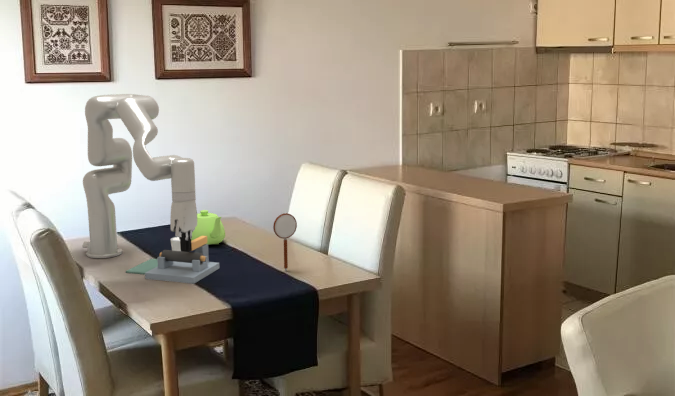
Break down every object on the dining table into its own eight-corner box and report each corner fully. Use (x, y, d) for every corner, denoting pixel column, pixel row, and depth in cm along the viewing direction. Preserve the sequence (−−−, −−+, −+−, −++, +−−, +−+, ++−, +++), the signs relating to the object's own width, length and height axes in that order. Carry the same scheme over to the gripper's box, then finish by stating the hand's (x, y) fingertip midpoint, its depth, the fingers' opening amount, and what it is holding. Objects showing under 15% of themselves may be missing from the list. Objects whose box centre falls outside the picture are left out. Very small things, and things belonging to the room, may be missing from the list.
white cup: (186, 260, 266) (185, 241, 264) (168, 259, 267) (167, 240, 266) (193, 255, 272) (192, 236, 271) (176, 254, 274) (175, 235, 272)
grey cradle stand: (145, 278, 244) (143, 254, 242) (173, 264, 261) (172, 241, 259) (194, 283, 238) (192, 258, 237) (219, 268, 255) (218, 245, 254)
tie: (186, 250, 246) (186, 243, 245) (202, 242, 256) (202, 235, 255) (191, 250, 245) (191, 243, 245) (207, 242, 255) (207, 236, 255)
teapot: (238, 246, 285) (237, 212, 282) (204, 252, 275) (203, 218, 273) (209, 235, 301) (207, 204, 299) (175, 241, 292) (174, 209, 289)
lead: (158, 261, 249) (157, 251, 249) (163, 258, 253) (163, 248, 252) (201, 265, 244) (201, 254, 244) (207, 262, 248) (206, 252, 247)
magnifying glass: (275, 273, 249) (274, 215, 245) (273, 272, 251) (272, 214, 247) (298, 269, 253) (297, 212, 249) (296, 268, 255) (295, 211, 251)
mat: (125, 272, 250) (125, 270, 250) (151, 260, 265) (151, 258, 265) (146, 274, 248) (146, 273, 248) (171, 262, 263) (171, 260, 263)
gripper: (185, 191, 248) (187, 244, 252) (161, 200, 234) (164, 256, 238) (205, 192, 246) (207, 246, 249) (182, 201, 232) (184, 258, 235)
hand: (186, 251), depth 243 cm, fingers closed
